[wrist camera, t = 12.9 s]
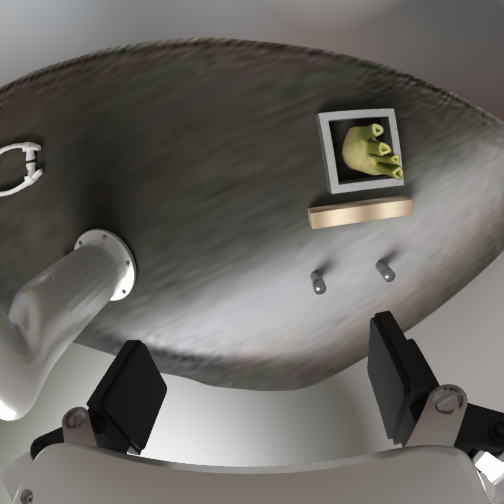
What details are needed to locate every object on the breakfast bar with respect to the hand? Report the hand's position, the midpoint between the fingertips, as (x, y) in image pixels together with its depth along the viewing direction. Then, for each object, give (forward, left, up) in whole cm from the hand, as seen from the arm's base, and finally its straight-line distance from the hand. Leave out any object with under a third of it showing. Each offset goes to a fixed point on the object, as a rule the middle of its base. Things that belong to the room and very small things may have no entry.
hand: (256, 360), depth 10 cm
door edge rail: (+12, -2, -28) cm, 31 cm away
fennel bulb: (+13, +6, -29) cm, 32 cm away
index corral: (+13, +6, -28) cm, 32 cm away
